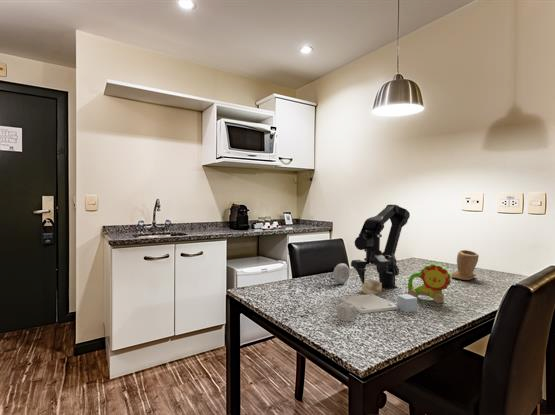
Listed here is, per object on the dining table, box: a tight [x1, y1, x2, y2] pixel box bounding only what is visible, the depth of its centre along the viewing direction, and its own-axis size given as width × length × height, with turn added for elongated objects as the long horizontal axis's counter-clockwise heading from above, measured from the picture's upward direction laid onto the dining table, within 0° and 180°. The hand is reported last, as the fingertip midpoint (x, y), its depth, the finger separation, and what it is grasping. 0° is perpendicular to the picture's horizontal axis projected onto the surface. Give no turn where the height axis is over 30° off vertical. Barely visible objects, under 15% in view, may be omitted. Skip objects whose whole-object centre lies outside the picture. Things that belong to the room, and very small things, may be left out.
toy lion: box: [406, 262, 452, 304], centre depth 130 cm, size 16×5×15 cm, turn 59°
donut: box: [332, 262, 351, 285], centre depth 153 cm, size 10×4×10 cm, turn 125°
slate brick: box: [396, 293, 418, 313], centre depth 119 cm, size 5×5×5 cm
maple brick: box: [361, 279, 383, 296], centre depth 139 cm, size 6×6×5 cm
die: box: [336, 302, 358, 323], centre depth 108 cm, size 5×5×5 cm
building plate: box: [338, 294, 399, 314], centre depth 124 cm, size 16×16×2 cm
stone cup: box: [450, 249, 480, 281], centre depth 167 cm, size 15×12×15 cm
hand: (372, 282), depth 140 cm, fingers open, 9 cm apart
